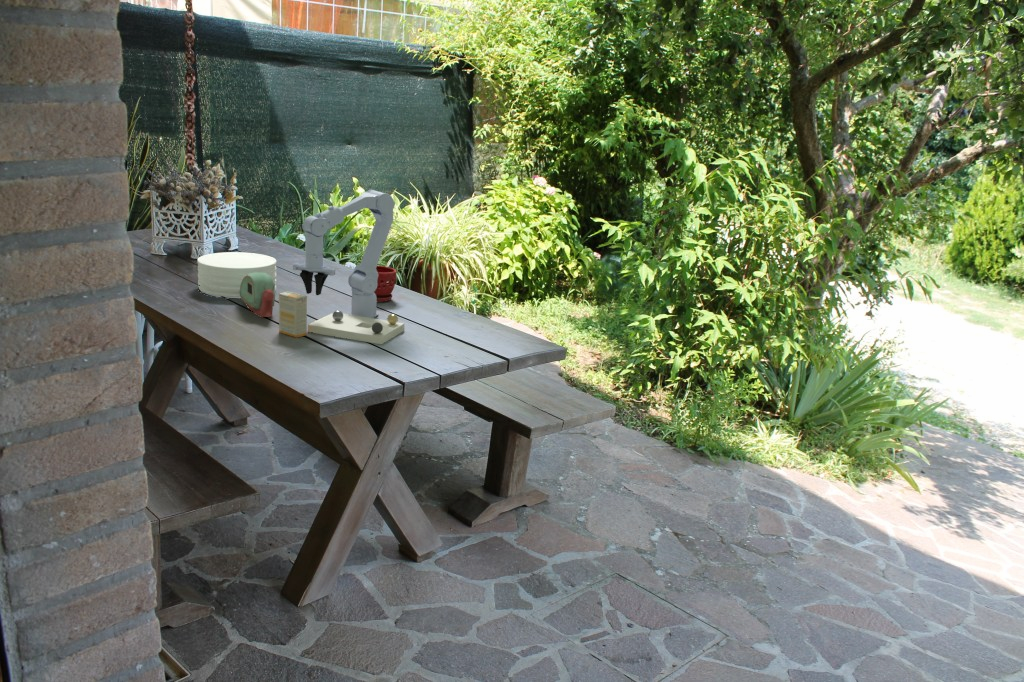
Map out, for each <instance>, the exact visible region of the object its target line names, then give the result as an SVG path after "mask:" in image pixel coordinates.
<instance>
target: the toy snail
mask: <svg viewBox="0 0 1024 682" xmlns="http://www.w3.org/2000/svg"><path fill="white" fill-rule="evenodd" d="M274 286H275V284H274V281H273V278H272V277H271V276H270V275H268V274H266V273H261V272H256V273H251V274H249V275H247V276H245V277H244V278H243V280H242V282H241V286H240V291H239V292H240V297H241V300H242V301H243V302H244V304H245V303H246V304H247V306H248V307H249V309H250V310H251V311H250V310H249V309H248V310H249V311H250V312H252V311H253V312H254V313H256V314H257V315H259V316H261V317H260V318H263V317H268V318H271V317H272V316H273V308H274V306H275V302H276V300H275V299H276V292H275V288H274ZM253 312H252V313H253ZM254 313H253V314H254ZM256 314H255V315H256ZM257 315H256V316H257ZM259 316H258V317H259Z"/></svg>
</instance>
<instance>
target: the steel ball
mask: <svg viewBox="0 0 1024 682" xmlns="http://www.w3.org/2000/svg"><path fill="white" fill-rule="evenodd" d="M333 312H334V313H333ZM333 312H332V313H333V319H334V320H336V321H340V320H342V319H343V314H344V313H343V312H342V310H335V311H333Z"/></svg>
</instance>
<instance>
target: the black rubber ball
mask: <svg viewBox="0 0 1024 682" xmlns="http://www.w3.org/2000/svg"><path fill="white" fill-rule="evenodd" d="M382 330H383V326H382V324H381V323H378V322H377V323H374V324H373V325H372V331H373V332H374V333H380V332H381V331H382Z"/></svg>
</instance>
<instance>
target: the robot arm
mask: <svg viewBox="0 0 1024 682" xmlns="http://www.w3.org/2000/svg"><path fill="white" fill-rule="evenodd" d="M395 206H396V203H395V200H394V198H393V197H392V195H391V194H389V193H386V192H381V191H377V190H375V189H368V190H367V191H364V192H362V193H361V194H360V195H359V196H357V197H355V198H353V199H352V200H350V201H348V202H347V203H344V204H343V205H341V206H340V207H339V206H336V205H334V206H332V205H330V206H327V208H328V209H325V210H323V211H321V212H317V213H315V216H314V215H309V216H307V217H306V218H305V219H304V220H303V223H302V224H301V229H302V230H303V231H304V238H305V240H304V241H305V242H304V243H305V247H304V252H305V253H304V254H305V255H304V256H305V257H304V259H305V260H304V263H292V271H301V272H300V273H299V277H300V279H301V280H302V282H303V285H304V288H305V291H306V292H305V293H306V294H308V295H309V294H311V293H312V292H313V278H314V281H315V295H316V296H320V295H322V291H323V286H324V284H325V282H326V279H327V278H328V277H329V276H331V277H332V276H336V269H335V268H331V267H328V266H324V236H325V234H326V233H327V231H328V230H329V229H332V228H333V227H335V226H337V225H339V224H341V223H343V222H344V220H345V217H346V216H350V215H352V214H354V213H356V212H359V211H361V210H363V209H368V210H369V211H370V212H371V213H372V214H373V216H374V218H375V223H374V225H373V228H372V230H371V233H370V237H369V239H368V242H367V245H366V248H365V251H364V253H363V255H362V259H361V261H360V263H358V264H357V265H356V266H355V267H354V269H353V270H352V271H351V272H352V273H350V274H349V277H348V281H347V282H348V286H349V287H350V288H351V309H350V310H351V311H350V315H355V316H362V317H368V318H374V319H375V318H376V317H377V316H379V315H380V314H379V313H377V303H378V302H377V297H376V294H375V293H374V291H375V290H376V288H377V279H378V276H379V275H378V272H377V270H376V267H377V266H378V264H379V261H380V258H381V256H382V253H383V251H384V250H383V249H384V248H385V244H386V242H387V239H388V236H389V234H390V231H391V228H392V225H393V222H394V209H395ZM314 273H315V274H314Z"/></svg>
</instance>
